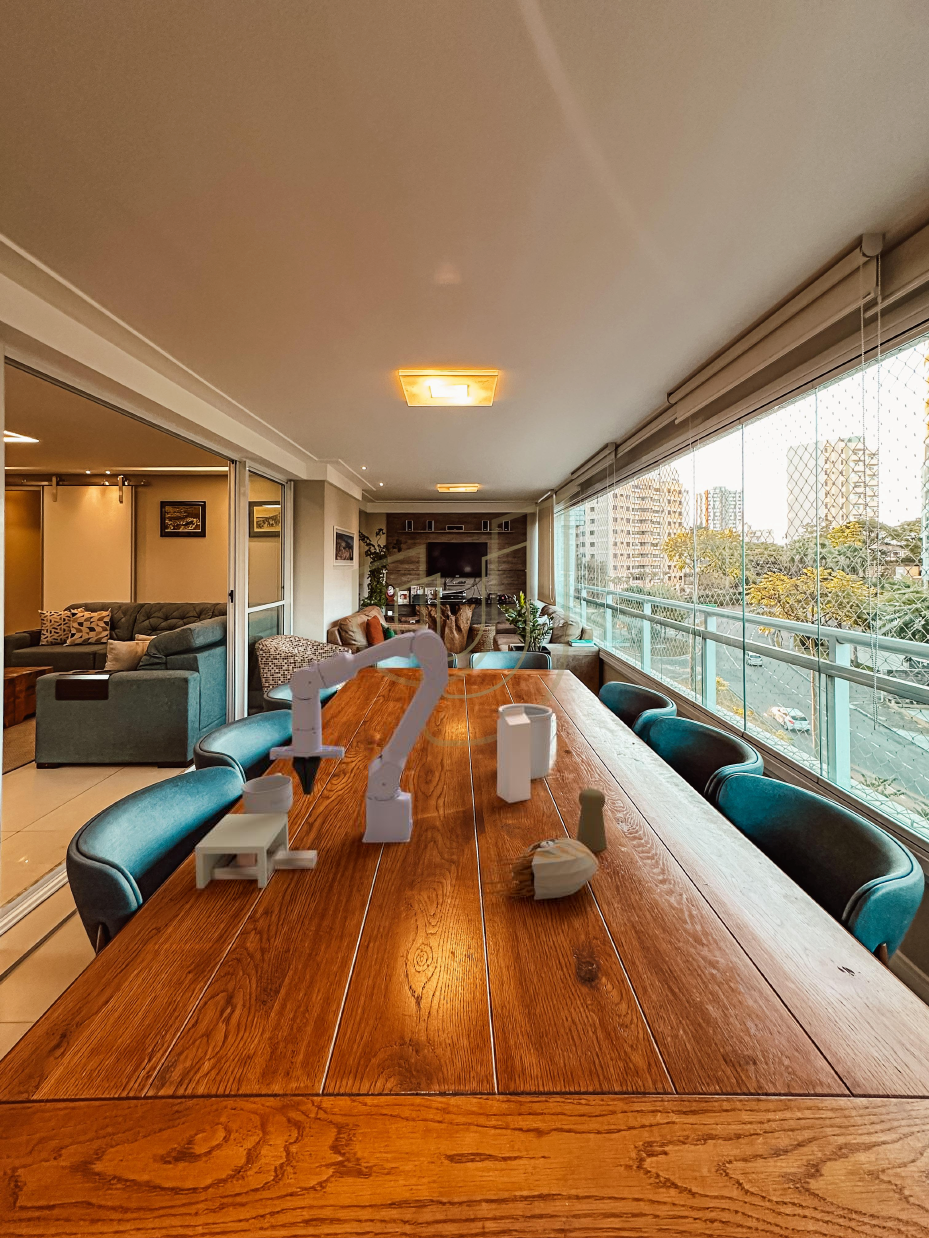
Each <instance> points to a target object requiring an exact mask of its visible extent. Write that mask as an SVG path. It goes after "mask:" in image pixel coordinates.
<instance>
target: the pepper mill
mask: <svg viewBox="0 0 929 1238" xmlns="http://www.w3.org/2000/svg"><path fill="white" fill-rule="evenodd" d="M578 803H579V805H580V807H581V808H580V815H579V821H578V827H577V828H578V829H577V835H576V841H579V842H581V843H582V844H583V845H585V846H586V847H587V848H588V849H589V850H590V851H591V852H602V851H604V850H606V849H607V847H608V845H607V844H608V843H607V836H606V835H607V834H606V828H605V819H604V812H603V808H604V807H605V804H606V797H605V794H604V792H603V791H601V790H599V789H595V788H585V789H583V790H581V791H580V792H579V795H578Z"/></svg>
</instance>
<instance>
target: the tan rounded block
mask: <svg viewBox="0 0 929 1238" xmlns="http://www.w3.org/2000/svg"><path fill="white" fill-rule="evenodd" d="M236 857H237V867H255V853H237V854H236Z"/></svg>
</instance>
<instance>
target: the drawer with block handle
mask: <svg viewBox="0 0 929 1238" xmlns="http://www.w3.org/2000/svg"><path fill="white" fill-rule="evenodd" d="M235 855H237V853H229V854H224V855H223V856H222V857H221V859H220V860H219V861H218V862H217V863H216V865H215V866H214V867H213V868H212V869H211V875H212V879H211V880H258V861H257V862H255V867H237V856H236V857H235V858H234V856H235ZM233 858H234V859H233ZM232 859H233V860H232ZM266 859H267V880H268V879H270V877H271V876H272V874H273V872H274V871H275V870H294V869H295V870H296V869H297V870H299V869H301V870H302V869H304V870H306V869H307V870H309V869H312V870H313V869H315V866H316V864H317V862H318V850H315V849H313V850H311V849H310V850H288V851H285V843H271V844H270V846H269V847H268V849H267V850H266ZM231 860H232V862H231ZM229 862H231V863H229ZM228 864H229V865H228Z"/></svg>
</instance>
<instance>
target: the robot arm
mask: <svg viewBox="0 0 929 1238" xmlns="http://www.w3.org/2000/svg"><path fill="white" fill-rule="evenodd" d="M411 654H413V656H414V658H415V659H416V660H417V662H418V663H419V665H420V669H421V672H422V674H423V680H422V681H421V683H420V685H419V686H418V688H417V690H416V691H415V694H414V695H413V697H412V700H411V701H410V704H409V705H408V707H407V708H406V710H405V712H404V714H403V716H402V717H401V720H400V721H399V723H398V725H397V727H396V728H395V730H394V732H393V734H392V736H391V737H390V740H389V741H388V743H387V744H386V745H385V746H384V747H383V749H382V751H381V752H380V753H379V755H378V756H376V757H375V758H373V759H372V760H371V762H370V763H369V765H368V771H367V772H368V780H367V790H366V791H365V801H366V802H365V804H366V805H365V806H366V807H365V808H366V809H365V810H366V811H365V813H366V816H365V817H366V818H365V819H366V820H365V821H366V824H365V825H366V829H365V832H364V834H363V837H362V841H361V842H362V843H409V842H410V839H411V834H412V830H413V825H414V824H413V821H414V820H413V819H412V817H413V816H412V815H413V813H412V809H413V808H412V803H413V801H412V794H411V792H404V791H402V788H401V787H400V782H401V781H400V780H401V779H400V778H401V775H402V773H403V772H404V769H405V766H406V762H407V759H408V757H409V755H410V753H411V751H412V749H413V747H414V746H415V744H416V743H417V740H418V738H419V737H420V735H421V733H422V731H423V730H424V728H425V726H426V724H427V722H428V720H429V718H430V716H431V715H432V713H433V711H434V710H435V709H436V708H435V707H436V706H437V704H438V702H439V700H440V698H441V697H442V695H443V693H444V691H445V690H446V687H447V685H448V684H449V680H450V678H449V666H448V665H449V664H448V662H449V661H448V650H447V648H446V646H445V643H444V641H443V639H442V637H440V636H439V635H438V634H437V632H435V631H434V630H432V629H429V628H426V627H425V628H419V629H418V630H416V631H414V632H413V631H410V632H409V631H408V632H405V633H403V634H400V635H396V636H393V637H392V638H389V639H386V640H384V641H382V642H379V643H378V644H375V645H373V646H371V647H368V648H366V649H364V650H362V651H359V652H357V653H354V654H352V653H349V652H347V651H343V652H340V651H338V650H336V651H334V652H332V654H331V655H332V656H330V657H327V658H325V659H323V660H320V661H318V662H316V661H315V660H314V661H311V662H310V663H309V666H302V667H300V668H299V669H297V670H296V671H295V673H294V674H292V676H291V677H290V680H289V683H288V684H289V691H290V692H291V701H292V703H291V734H292V735H291V736H292V737H291V739H292V740H291V744H292V745H290V746H289V745H288V746H279V747H275V746H274V747H272V748H270V750H269V760H277V759H292V762H291V767H292V768H293V770H294V772H295V773H296V775H297V777H298V779H299V783H300V785H301V788H302V794H303V795H305V796H311V795H312V793H313V792H314V786H315V785H314V784H315V781H316V780H315V779H316V776H317V773H318V771H319V768H320V765H321V763H322V761H323V759H337V760H343V759H344V757H345V747H344V746H335V745H323V744H322V743H323V742H322V741H323V739H322V737H323V736H322V735H323V734H322V731H323V730H322V704H321V698H320V697H321V694H320V693H321V692H320V690H329V689H330V688H333V687H336V686H338V685H340V684H343V683H345V682H347V681H351V680H353V679H355V678H356V677H357V675H358V671H359V670H361V669H364V668H366V667H369V666H372V665H375V664H378V663H380V662H383V661H387V660H388V659H391V658H394V657H399V658H404V659H411Z"/></svg>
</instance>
